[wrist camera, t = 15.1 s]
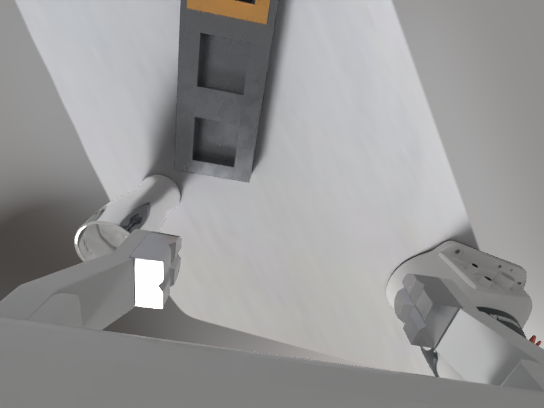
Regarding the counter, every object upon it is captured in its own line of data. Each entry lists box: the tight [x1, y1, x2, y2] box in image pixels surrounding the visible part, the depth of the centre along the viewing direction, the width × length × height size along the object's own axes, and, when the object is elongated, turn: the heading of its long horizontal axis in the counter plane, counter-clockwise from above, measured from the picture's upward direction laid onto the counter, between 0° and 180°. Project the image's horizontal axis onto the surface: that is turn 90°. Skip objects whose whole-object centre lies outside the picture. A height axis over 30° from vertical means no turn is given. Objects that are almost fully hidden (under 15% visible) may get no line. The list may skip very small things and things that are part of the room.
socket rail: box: [174, 0, 279, 183], centre depth 34 cm, size 27×10×4 cm, turn 170°
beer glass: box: [74, 175, 180, 262], centre depth 36 cm, size 7×7×15 cm
